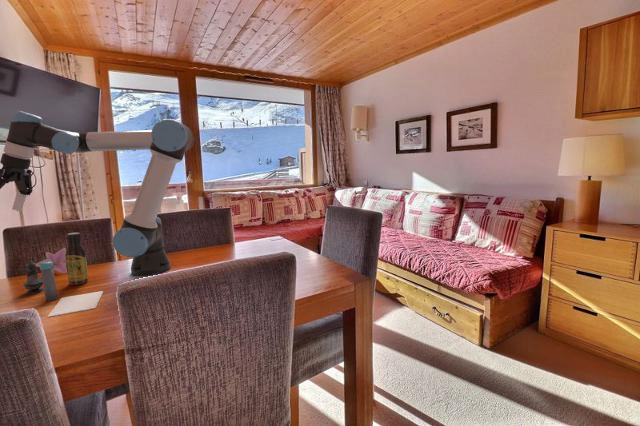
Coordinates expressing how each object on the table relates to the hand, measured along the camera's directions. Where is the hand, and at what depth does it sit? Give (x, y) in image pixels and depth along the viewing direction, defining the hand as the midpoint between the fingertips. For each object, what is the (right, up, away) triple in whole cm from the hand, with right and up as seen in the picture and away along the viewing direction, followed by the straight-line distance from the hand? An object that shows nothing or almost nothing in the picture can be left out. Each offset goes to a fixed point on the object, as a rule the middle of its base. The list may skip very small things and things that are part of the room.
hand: (1, 212), depth 114 cm
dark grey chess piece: (+9, -29, +4) cm, 31 cm away
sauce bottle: (+19, -28, +11) cm, 36 cm away
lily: (-1, -26, +26) cm, 37 cm away
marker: (+21, -30, -4) cm, 37 cm away
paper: (+34, -30, -8) cm, 46 cm away
